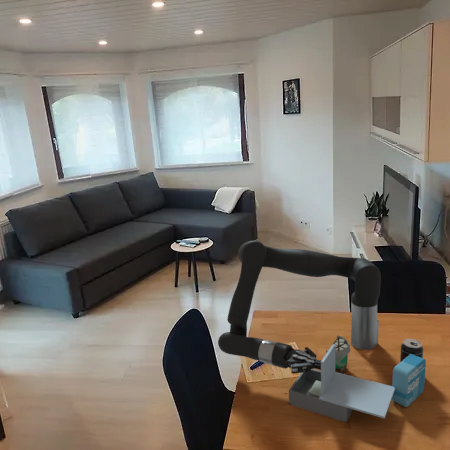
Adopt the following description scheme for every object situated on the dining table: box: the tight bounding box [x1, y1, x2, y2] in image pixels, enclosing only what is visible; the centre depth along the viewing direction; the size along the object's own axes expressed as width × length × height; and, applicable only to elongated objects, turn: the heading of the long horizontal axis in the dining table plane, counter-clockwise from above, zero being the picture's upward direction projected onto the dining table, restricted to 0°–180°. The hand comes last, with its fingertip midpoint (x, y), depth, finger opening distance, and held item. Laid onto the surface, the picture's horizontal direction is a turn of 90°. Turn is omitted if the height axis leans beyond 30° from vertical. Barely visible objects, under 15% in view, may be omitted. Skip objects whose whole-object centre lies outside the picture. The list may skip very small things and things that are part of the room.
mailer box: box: [288, 368, 354, 423], centre depth 138 cm, size 18×14×5 cm
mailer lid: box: [319, 343, 395, 419], centre depth 130 cm, size 19×15×12 cm
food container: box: [325, 335, 351, 374], centre depth 152 cm, size 12×6×10 cm, turn 148°
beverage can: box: [399, 338, 424, 363], centre depth 146 cm, size 7×7×12 cm
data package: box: [391, 354, 427, 408], centre depth 136 cm, size 12×4×12 cm, turn 131°
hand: (327, 366), depth 135 cm, fingers closed
